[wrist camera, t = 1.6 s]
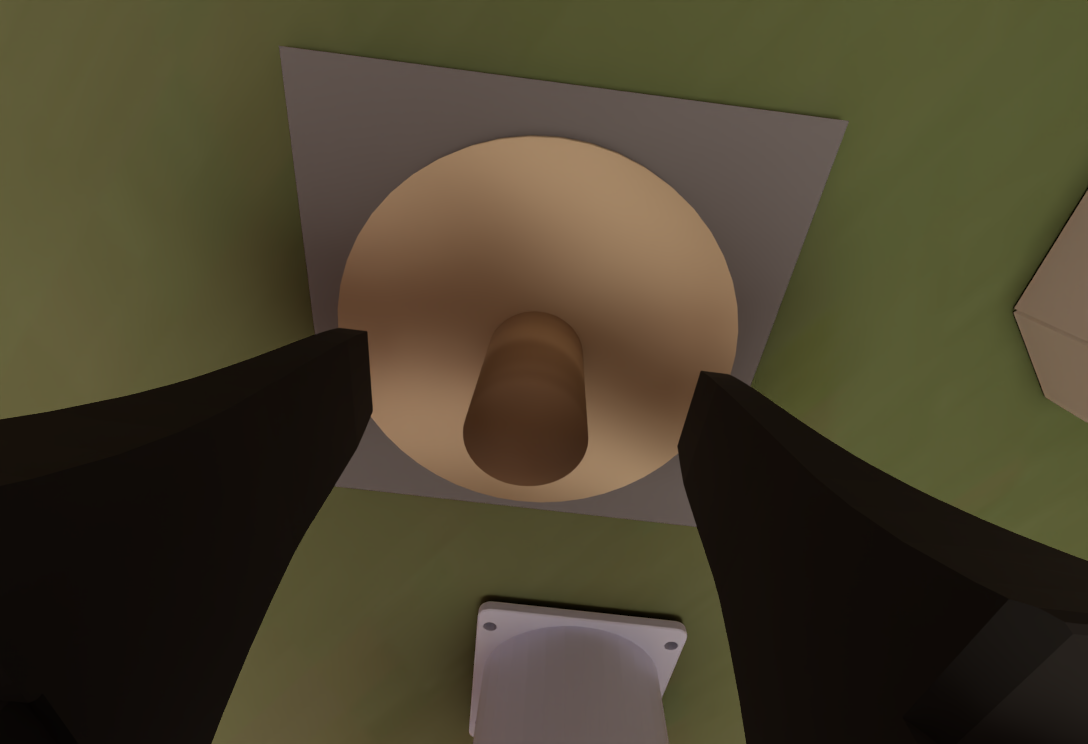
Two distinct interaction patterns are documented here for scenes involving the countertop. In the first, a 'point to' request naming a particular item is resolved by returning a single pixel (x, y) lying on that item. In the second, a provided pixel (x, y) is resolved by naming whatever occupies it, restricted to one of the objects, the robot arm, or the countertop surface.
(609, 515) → the mat
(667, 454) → the lid
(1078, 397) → the bowl
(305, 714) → the countertop surface
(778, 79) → the countertop surface
